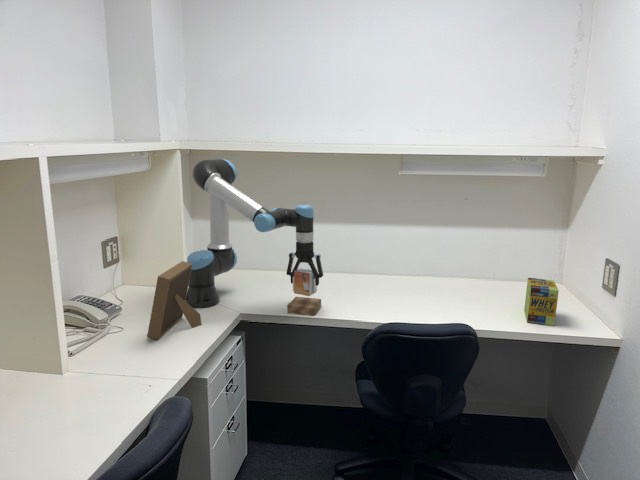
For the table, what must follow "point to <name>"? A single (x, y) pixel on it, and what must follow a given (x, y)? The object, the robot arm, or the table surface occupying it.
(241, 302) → the table surface
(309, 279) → the small box
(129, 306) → the table surface
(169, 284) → the photo frame
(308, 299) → the plinth
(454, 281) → the table surface
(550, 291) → the protein box
